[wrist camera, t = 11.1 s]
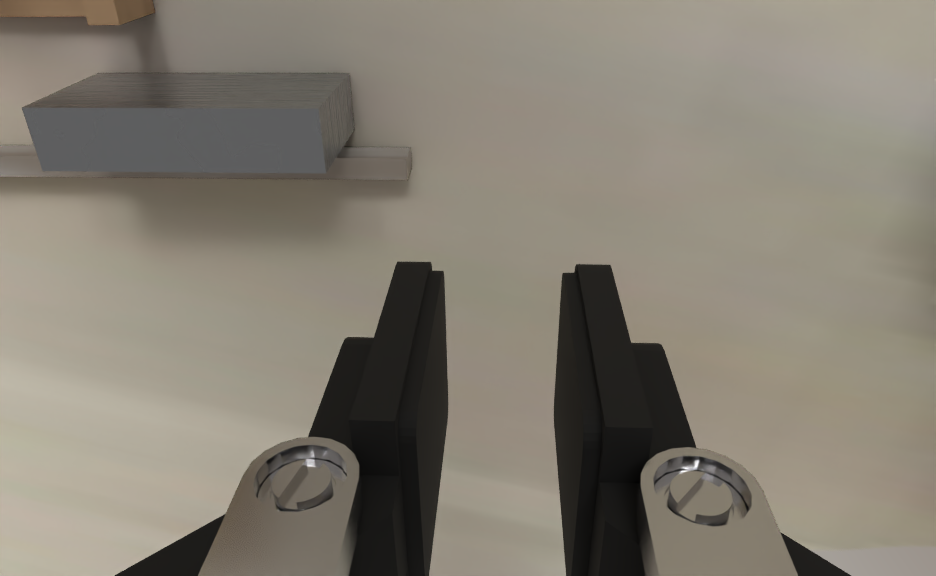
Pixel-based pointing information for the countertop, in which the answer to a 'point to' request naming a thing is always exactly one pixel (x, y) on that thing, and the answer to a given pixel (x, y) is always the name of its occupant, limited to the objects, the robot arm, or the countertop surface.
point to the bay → (124, 3)
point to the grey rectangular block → (194, 123)
